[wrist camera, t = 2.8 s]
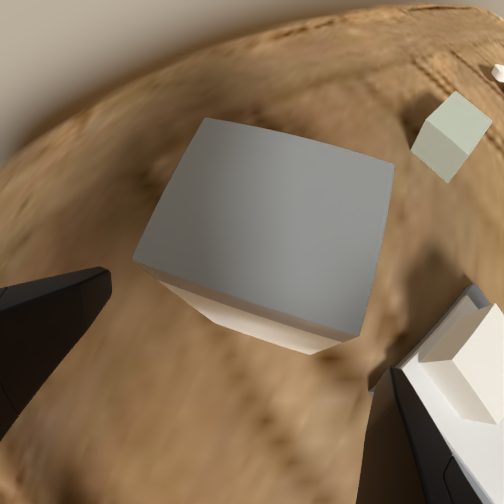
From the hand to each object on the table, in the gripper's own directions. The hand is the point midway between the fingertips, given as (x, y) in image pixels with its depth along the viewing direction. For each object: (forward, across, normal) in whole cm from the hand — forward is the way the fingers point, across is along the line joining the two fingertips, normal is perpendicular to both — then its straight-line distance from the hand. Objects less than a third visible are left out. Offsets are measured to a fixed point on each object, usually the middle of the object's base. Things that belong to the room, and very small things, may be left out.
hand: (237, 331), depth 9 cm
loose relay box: (+21, -10, -6) cm, 24 cm away
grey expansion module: (+9, 0, +5) cm, 11 cm away
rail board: (+6, -19, +9) cm, 21 cm away
